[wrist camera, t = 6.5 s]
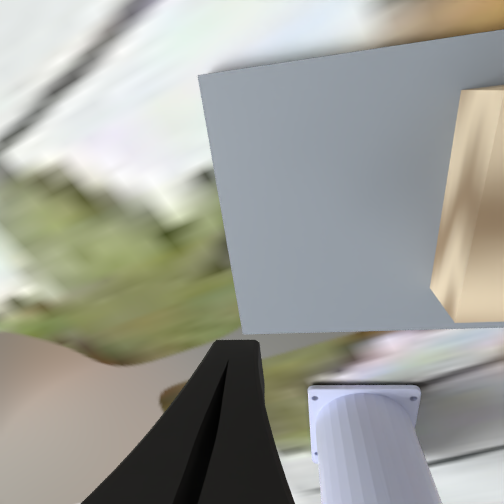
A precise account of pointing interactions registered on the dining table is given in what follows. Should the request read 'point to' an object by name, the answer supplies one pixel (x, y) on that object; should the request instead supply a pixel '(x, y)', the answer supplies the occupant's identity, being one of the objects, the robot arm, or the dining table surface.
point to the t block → (473, 213)
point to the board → (341, 181)
